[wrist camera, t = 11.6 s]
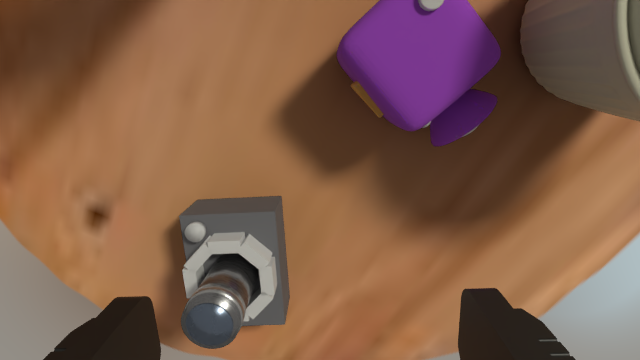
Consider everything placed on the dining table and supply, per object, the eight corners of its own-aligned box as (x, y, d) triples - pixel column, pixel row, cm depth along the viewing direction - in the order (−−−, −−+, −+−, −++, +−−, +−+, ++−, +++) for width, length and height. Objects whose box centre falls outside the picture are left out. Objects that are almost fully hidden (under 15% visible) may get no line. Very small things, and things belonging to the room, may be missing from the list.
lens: (209, 251, 35) (174, 299, 27) (256, 249, 35) (235, 296, 27) (215, 294, 36) (183, 352, 28) (261, 292, 36) (242, 350, 28)
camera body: (197, 199, 39) (170, 223, 32) (281, 195, 39) (271, 218, 32) (211, 299, 42) (189, 340, 35) (289, 296, 42) (282, 337, 35)
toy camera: (427, 156, 38) (462, 180, 28) (320, 73, 36) (318, 68, 26) (501, 68, 36) (566, 61, 26) (391, -25, 34) (417, -70, 24)
